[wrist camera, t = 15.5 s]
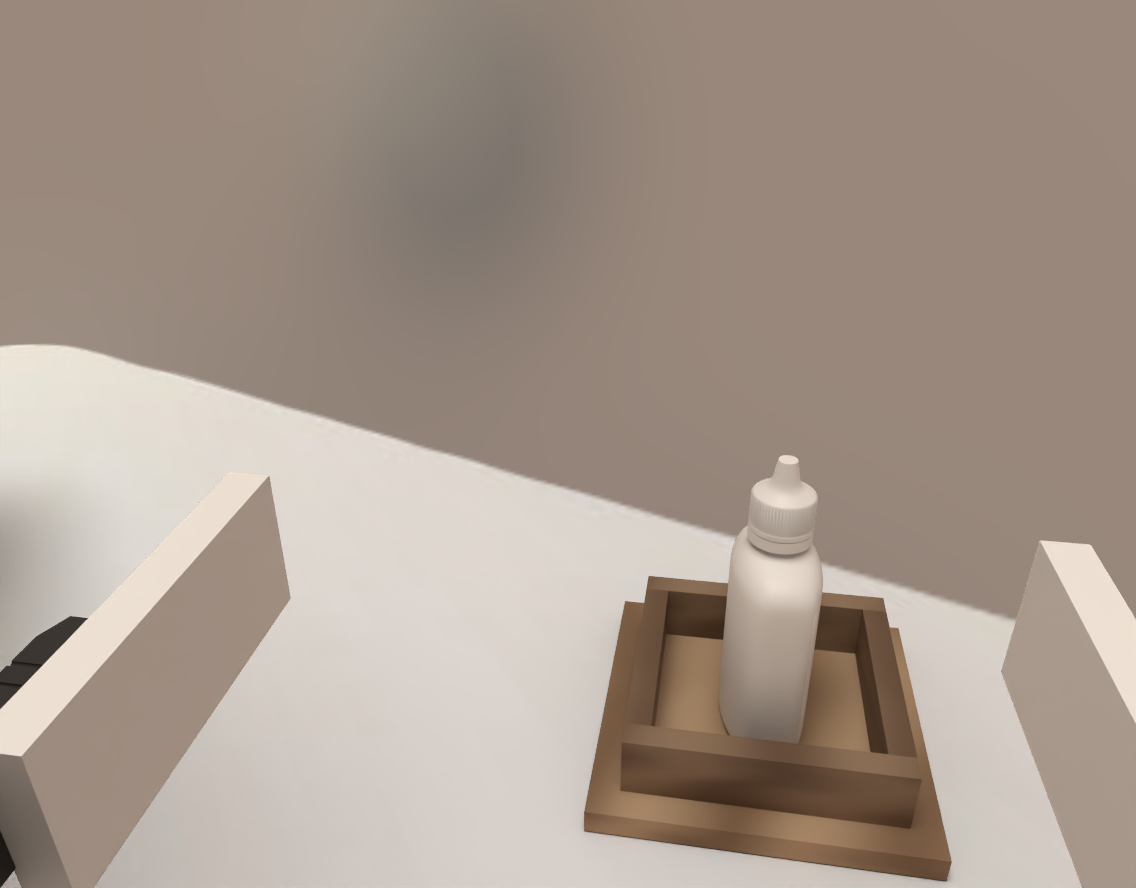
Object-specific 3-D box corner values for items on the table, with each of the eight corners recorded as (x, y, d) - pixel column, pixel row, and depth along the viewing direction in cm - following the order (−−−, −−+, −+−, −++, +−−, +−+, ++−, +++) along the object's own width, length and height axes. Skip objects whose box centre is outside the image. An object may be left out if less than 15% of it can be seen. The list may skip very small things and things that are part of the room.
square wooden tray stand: (584, 830, 35) (584, 762, 33) (624, 617, 46) (626, 559, 44) (946, 880, 33) (964, 811, 31) (894, 644, 44) (906, 585, 42)
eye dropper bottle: (832, 690, 40) (872, 444, 34) (784, 775, 36) (820, 511, 30) (738, 654, 42) (761, 417, 36) (682, 731, 38) (699, 476, 32)
